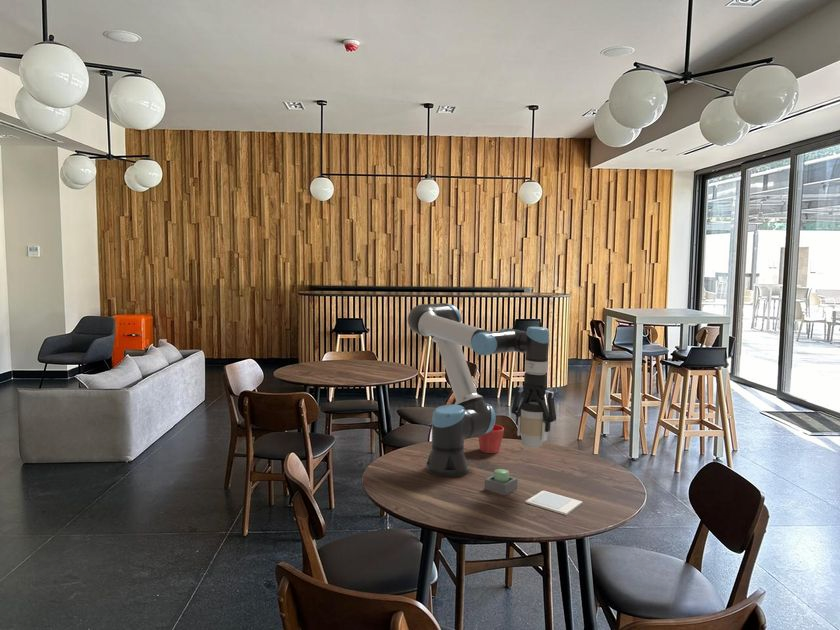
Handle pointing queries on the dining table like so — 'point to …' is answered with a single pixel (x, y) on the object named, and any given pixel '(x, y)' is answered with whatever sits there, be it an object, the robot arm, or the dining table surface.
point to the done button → (501, 475)
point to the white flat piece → (554, 502)
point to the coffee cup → (531, 424)
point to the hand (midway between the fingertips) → (532, 437)
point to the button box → (501, 485)
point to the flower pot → (491, 440)
